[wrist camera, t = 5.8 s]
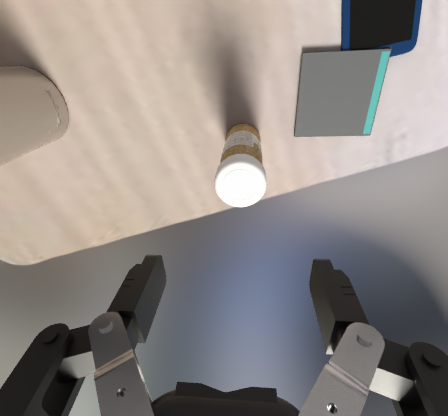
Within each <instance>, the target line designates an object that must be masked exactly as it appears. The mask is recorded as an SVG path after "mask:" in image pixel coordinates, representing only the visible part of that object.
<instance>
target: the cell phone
mask: <svg viewBox="0 0 448 416" xmlns="http://www.w3.org/2000/svg"><path fill="white" fill-rule="evenodd" d="M421 7H422V0H342V22H341V51H357V50H377V49H391V53H390V57H392V56H396V55H400V54H404V53H407V52H409V51H411V50H412V49H413V48H414V47H415V45H416V42H417V37H418V30H419V22H420V15H421Z"/></svg>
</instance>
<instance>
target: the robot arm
mask: <svg viewBox="0 0 448 416" xmlns="http://www.w3.org/2000/svg"><path fill="white" fill-rule="evenodd" d="M67 126H68V111H67V106H66V104H65V101H64V99H63V97H62V95H61V94H60V92H59V90H58V89H57V88H56V87H55V86H54V84H53V83H52V82H51V81H50V80H49V79H47V78H46V77H45V76H44V75H42V74H41V73H39V72H37V71H36V70H33V69H31V68H28V67H23V66H8V67H0V165H2V164H4V163H7V162H9V161H11V160H13V159H15V158H17V157H20V156H22V155H24V154H26V153H28V152H30V151H33V150H35V149H37V148H39V147H42V146H44V145H46V144H48V143H50V142H52V141H54V140H56V139H58V138H60V137H61V136H62V135H63V134H64V133H65V131H66V129H67ZM165 285H166V273H165V268H164V264H163V260H162V256H161V255H146V256H145V258H144V260H143V262H142V264H136V265H135V266H134V267H133V268H132V269H131V270H129V272H128V274H127V276H126V278H125V280H124V281H123V283H122V285H121V287H120V288H119V290H118V292H117V294H116V296H115V298H114V299H113V301H112V303H111V305H110V307H109V309H108V310H107V312H106V313H103V314H101V315H100V316H98V317H97V318H95V319H94V320H93V322H92V323H91V324H90V325H87V326H84V327H80V328H75V329H71V330H69V328H68V326H67V325H65V324H61V323H59V324H54V325H51V326H49V327H47V328H45V329H44V330H43V331H41V332H40V333H39V334H38V335H37V336H36V338H35V339H34V340H33V342H32V343H31V345H30V347H29V348H28V349H27V351H26V352H25V354H24V355H23V356H22V358H21V359H20V361H19V362H18V364H17V365H16V367H15V368H14V370H13V371H12V373H11V374H10V376H9V377H8V378H7V380H6V381H5V383H4V384H3V386H2V387H1V389H0V416H68V415H69V413H70V411H71V408H72V406H73V404H74V402H75V399H76V397H77V395H78V393H79V390H80V388H81V386H82V383H83V381H84V379H85V377H86V376H88V375H91V374H94V380H95V385H96V391H97V396H98V402H99V407H100V412H101V416H360V414H361V412H362V409H363V406H364V404H365V401H366V398H367V395H368V392H369V390H372V391H374V392H377V393H379V394H382V395H384V396H387V397H389V398H391V399H392V402H393V405H394V408H395V411H396V413H397V416H448V356H447V355H446V354H445V353H444V352H443V351H441V350H440V349H438V348H437V347H435V346H433V345H431V344H428V343H424V342H416V343H413V344H412V345H411V346H410V348H409V347H406V346H403V345H400V344H397V343H394V342H391V341H388V340H386V339H384V338H383V337H382V336H381V335H380V333H379V332H378V331H377V330H376V329H374V328H373V327H371V326H370V325H369V323H368V320H367V318H366V316H365V314H364V312H363V309H362V307H361V305H360V303H359V300H358V298H357V296H356V293H355V291H354V289H353V287H352V284H351V282H350V280H349V278H348V277H347V276H346V275H345V274H344V273H343V272H342V271H341V270H334V269H333V266H332V263H331V261H330V260H329V259H314V260H313V264H312V269H311V275H310V281H309V285H310V293H311V297H312V301H313V305H314V309H315V313H316V317H317V321H318V324H319V328H320V332H321V336H322V340H323V344H324V348H325V352H326V354H333V356H332V358H331V359H330V361H329V363H327V364H326V365H325V367H324V368H323V370H322V372H321V374H320V376H319V378H318V379H317V381H316V383H315V385H314V387H313V389H312V391H311V393H310V394H309V396H308V398H307V400H306V402H305V404H304V405H303V407H302V409H301V411H299V410H298V409H297V408H296V407H294V406H293V405H292V404H290V403H288V402H287V401H285V400H284V399H282V398H279V397H277V393H276V389H275V388H259V387H249V388H244V389H240V390H235V391H231V392H222V391H219V390H217V389H214V388H211V387H209V386H206V385H204V384H201V383H187V382H177V386H176V390H173V391H170V392H167V393H165V394H163V395H162V396H160V397H158V398H157V399H155V400H154V401H153V402H152V400H151V397H150V394H149V391H148V389H147V386H146V383H145V380H144V378H143V374H142V372H141V368H140V366H139V363H138V360H137V357H136V354H135V351H134V350H135V347H136V345H137V343H145V342H146V339H147V336H148V333H149V331H150V328H151V325H152V322H153V319H154V316H155V314H156V310H157V308H158V305H159V302H160V300H161V297H162V294H163V291H164V288H165Z"/></svg>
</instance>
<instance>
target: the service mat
mask: <svg viewBox="0 0 448 416" xmlns="http://www.w3.org/2000/svg"><path fill="white" fill-rule="evenodd" d="M390 53H391V49H377V50H357V51H335V52H314V53H302V59H301V69H300V80H299V90H298V100H297V110H296V121H295V131H294V136H295V137H315V136H366V135H370V134H371V130H372V126H373V122H374V118H375V114H376V110H377V106H378V102H379V98H380V94H381V89H382V85H383V81H384V77H385V73H386V69H387V65H388V61H389V57H390Z"/></svg>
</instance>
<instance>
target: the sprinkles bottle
mask: <svg viewBox="0 0 448 416" xmlns="http://www.w3.org/2000/svg"><path fill="white" fill-rule="evenodd" d="M215 189H216V192H217V194H218V196H219V197H220V198H221V199H222V200H223V201H224V202H225V203H227V204H229V205H231V206H235V207H246V206H250V205H252V204H254V203H256V202H257V201H258V200H259V199H260V198H261V197H262V196H263V194H264V192H265V190H266V174H265V170H264V167H263V165H262V152H261V145H260V136H259V133H258V132H257V130H256V129H255V128H253V127H252V126H250V125H247V124H239V125H236V126H234V127H232V129H230V131H229V132H228V134H227V136H226V142H225V146H224V149H223V153H222V157H221V162H220V165H219V167H218V169H217V172H216V176H215Z"/></svg>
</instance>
